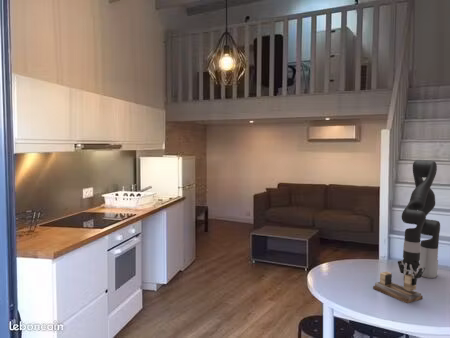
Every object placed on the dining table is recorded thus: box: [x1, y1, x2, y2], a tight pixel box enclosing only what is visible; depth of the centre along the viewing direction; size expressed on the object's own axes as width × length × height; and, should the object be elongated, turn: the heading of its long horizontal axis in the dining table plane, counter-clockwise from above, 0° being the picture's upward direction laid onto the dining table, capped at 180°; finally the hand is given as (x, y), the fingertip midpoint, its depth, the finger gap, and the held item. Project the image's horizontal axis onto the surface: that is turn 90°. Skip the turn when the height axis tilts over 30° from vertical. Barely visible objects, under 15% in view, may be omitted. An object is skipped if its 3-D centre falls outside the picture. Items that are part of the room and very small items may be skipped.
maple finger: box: [403, 273, 417, 291], centre depth 187 cm, size 5×3×7 cm, turn 119°
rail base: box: [372, 271, 424, 304], centre depth 193 cm, size 12×20×8 cm, turn 28°
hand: (409, 283), depth 187 cm, fingers closed on maple finger, 3 cm apart
